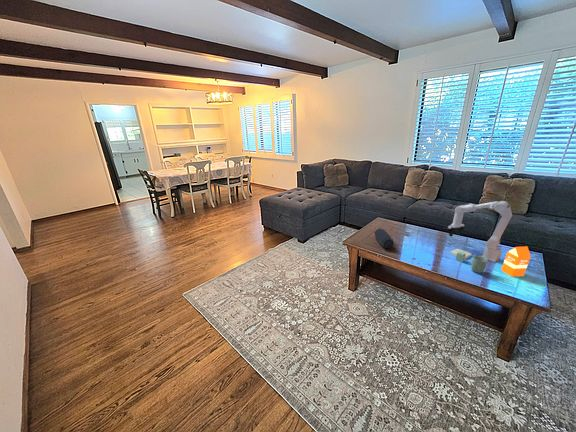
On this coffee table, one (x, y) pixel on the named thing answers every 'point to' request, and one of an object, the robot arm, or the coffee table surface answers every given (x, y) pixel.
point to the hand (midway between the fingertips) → (454, 235)
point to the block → (460, 256)
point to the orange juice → (516, 261)
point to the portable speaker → (384, 238)
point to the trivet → (460, 251)
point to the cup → (478, 264)
